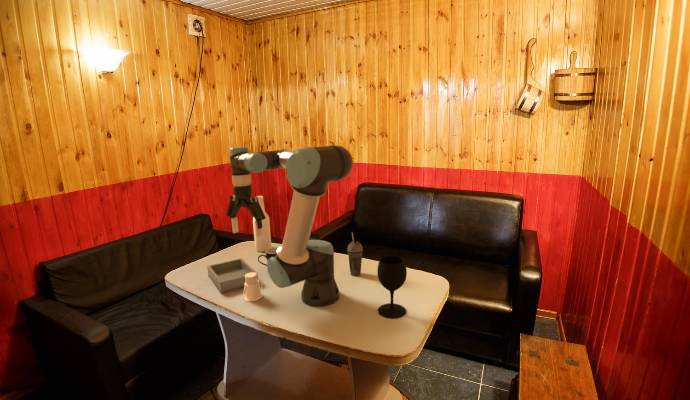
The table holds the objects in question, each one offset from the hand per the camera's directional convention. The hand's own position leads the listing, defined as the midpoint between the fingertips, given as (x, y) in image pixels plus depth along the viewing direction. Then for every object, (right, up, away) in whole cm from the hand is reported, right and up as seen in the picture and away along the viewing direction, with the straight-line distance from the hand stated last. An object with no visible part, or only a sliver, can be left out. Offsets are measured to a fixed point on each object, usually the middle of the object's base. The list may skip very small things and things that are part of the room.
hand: (247, 234), depth 156 cm
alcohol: (-4, -13, +48) cm, 50 cm away
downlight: (+5, -25, -7) cm, 26 cm away
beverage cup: (+46, -20, +12) cm, 52 cm away
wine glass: (+59, -26, -21) cm, 68 cm away
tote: (-9, -21, +10) cm, 25 cm away
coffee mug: (+7, -19, +19) cm, 28 cm away
